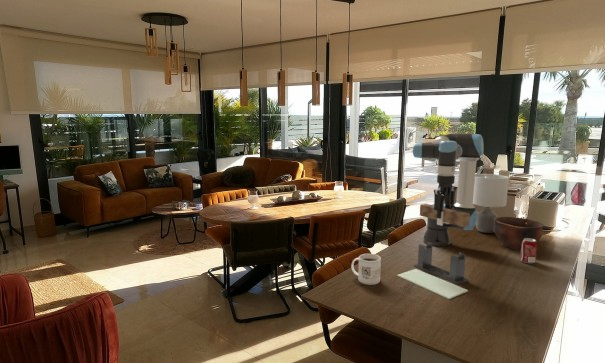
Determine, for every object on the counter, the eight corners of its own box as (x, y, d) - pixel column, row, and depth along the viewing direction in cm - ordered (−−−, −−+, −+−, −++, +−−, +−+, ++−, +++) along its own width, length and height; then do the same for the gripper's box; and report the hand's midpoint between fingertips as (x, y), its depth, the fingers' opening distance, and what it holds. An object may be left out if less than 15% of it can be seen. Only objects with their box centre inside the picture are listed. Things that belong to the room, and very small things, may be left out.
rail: (419, 215, 187) (420, 204, 186) (425, 214, 189) (425, 203, 188) (463, 227, 167) (464, 215, 166) (469, 225, 169) (470, 213, 168)
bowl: (535, 242, 227) (537, 217, 225) (546, 256, 204) (549, 229, 202) (489, 237, 235) (491, 214, 233) (494, 251, 212) (497, 224, 210)
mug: (365, 286, 167) (366, 263, 166) (350, 276, 178) (350, 254, 176) (384, 282, 172) (385, 259, 170) (368, 272, 183) (368, 250, 181)
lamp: (464, 226, 260) (468, 173, 254) (496, 227, 257) (501, 174, 251) (473, 235, 240) (478, 178, 233) (508, 237, 237) (514, 179, 231)
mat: (397, 276, 179) (397, 274, 179) (415, 269, 186) (415, 268, 186) (448, 299, 156) (449, 298, 156) (467, 291, 163) (467, 290, 163)
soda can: (537, 264, 192) (539, 242, 190) (522, 263, 194) (525, 241, 192) (532, 260, 199) (534, 238, 197) (518, 259, 200) (520, 237, 198)
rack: (414, 266, 190) (415, 243, 188) (423, 263, 194) (424, 240, 192) (458, 284, 170) (460, 258, 168) (467, 280, 174) (469, 255, 172)
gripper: (441, 177, 166) (438, 229, 170) (464, 174, 176) (461, 223, 180) (427, 175, 173) (424, 225, 177) (450, 172, 182) (447, 219, 186)
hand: (443, 223), depth 178 cm, fingers closed on rail, 4 cm apart
